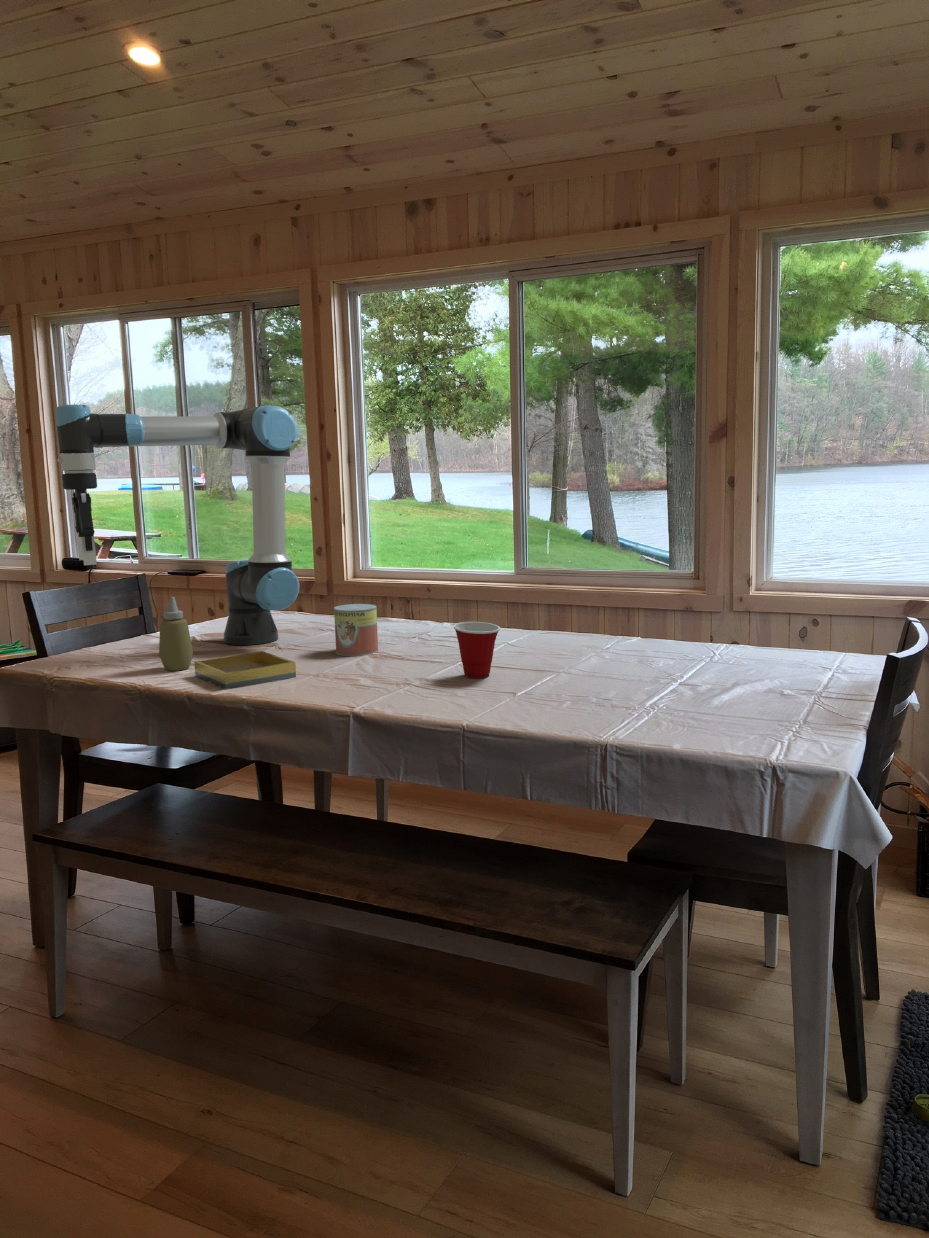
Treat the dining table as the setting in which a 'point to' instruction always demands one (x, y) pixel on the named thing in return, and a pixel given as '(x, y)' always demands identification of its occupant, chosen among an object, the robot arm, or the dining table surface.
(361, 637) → the canned food
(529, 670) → the dining table surface
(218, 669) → the shallow tray
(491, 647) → the plastic cup
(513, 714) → the dining table surface
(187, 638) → the squeeze bottle
